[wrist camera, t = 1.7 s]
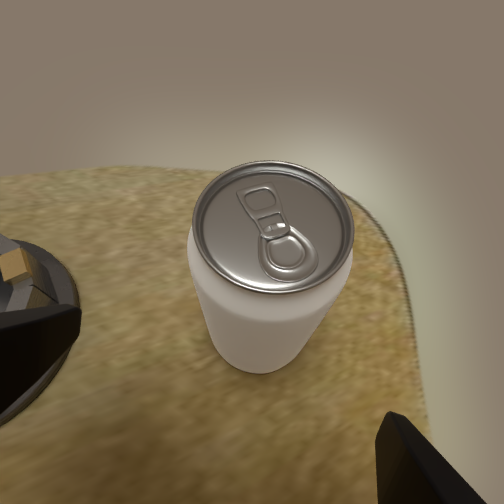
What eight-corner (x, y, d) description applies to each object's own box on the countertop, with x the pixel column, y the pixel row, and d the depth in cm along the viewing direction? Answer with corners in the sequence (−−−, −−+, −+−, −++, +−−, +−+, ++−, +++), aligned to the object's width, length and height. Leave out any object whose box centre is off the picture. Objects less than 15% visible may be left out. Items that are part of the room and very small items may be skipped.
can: (228, 391, 19) (212, 339, 9) (197, 297, 22) (159, 176, 12) (323, 352, 21) (406, 267, 10) (282, 268, 24) (315, 136, 13)
